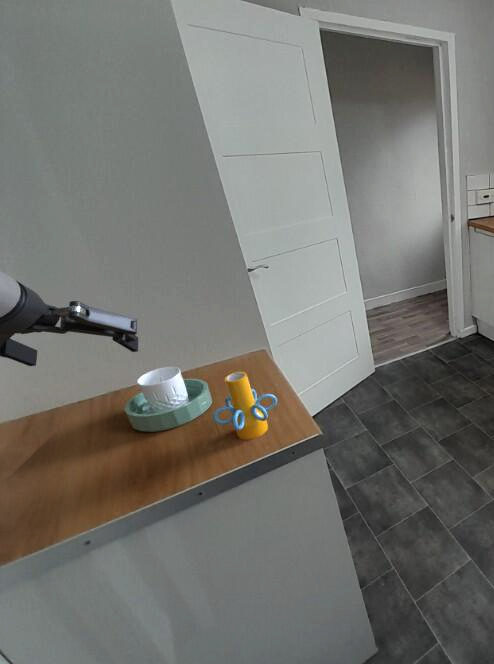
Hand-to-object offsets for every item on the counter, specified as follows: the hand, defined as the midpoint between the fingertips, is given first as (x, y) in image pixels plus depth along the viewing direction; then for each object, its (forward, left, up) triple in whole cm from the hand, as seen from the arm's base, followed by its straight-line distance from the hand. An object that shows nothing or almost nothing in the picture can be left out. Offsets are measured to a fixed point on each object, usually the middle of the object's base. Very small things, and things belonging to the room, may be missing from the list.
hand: (86, 351), depth 71 cm
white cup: (-2, +20, -27) cm, 33 cm away
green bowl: (-2, +20, -27) cm, 34 cm away
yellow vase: (+18, +7, -27) cm, 34 cm away
